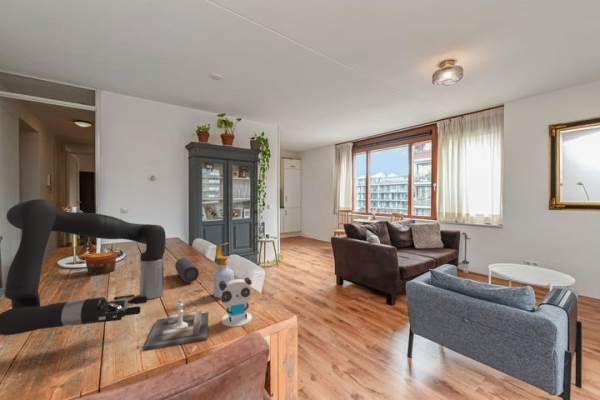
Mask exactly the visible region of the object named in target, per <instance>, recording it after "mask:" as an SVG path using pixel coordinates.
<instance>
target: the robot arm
mask: <svg viewBox="0 0 600 400" xmlns="http://www.w3.org/2000/svg"><path fill="white" fill-rule="evenodd" d="M6 220H7V221H8V223H9V224H10V225H12V226H13V227H14V228H16V229H19V230H21V239H20V242H19V244H18V245H19V246H18V249H17V251H16V254H15V255H14V257H13V259H12V261H11V264H10V266H9V268H8V272H7V277H6V282H5V287H4V288H5V289H4V298H5V299H8V300H10V301H11V308H10V309H6V310H4V311H2V312H0V336H13V335H18V334H24V333H29V332H34V331H37V330H43V329H54V328H60V327H73V326H83V325H90V324H98V323H106V322H116V321H121V320H122V319H123V318H126V316H133V315H139V314H140V313H141V306H133V305H139V304H140V305H141V304H146V303H147V302H148V300H152V299H157V298H160V297H162V296H163V295H164V292H165V291H164V289H165V288H164V286H165V285H164V254H165V252H166V230H165V228H164V227H163V226H162V225H160V224H149V223H148V224H144V223H134V222H133V223H131V222H128V221H125V220H123V219H121V218H118V217H114V216H111V215H106V214H102V213H101V214H100V213H94V212H72V211H71V212H70V211H64V210H63V211H62V210H58V209H57V208H56V206H55V205H54V204H53V203H52V202H50V201H49V200H47V199H42V198H41V199H40V198H39V199H38V198H36V199H31V200H27V201H23V202H22V201H21V202H19V203H16V204H14V205H13V206H11V208H9V210H8V211H7V212H6ZM52 232H60V233H66V234H70V235H76V236H81V237H88V238H95V239H100V240H101V239H102V240H103V239H104V240H128V241H133V242H136V243H139V244H144V245H145V246H146V247H145V248H146V249H145V251H144V252H141V254H140V256H139V257H140V262H139V263H140V275H139V296H135V294H129V295H127V294H126V295H120V296H119V295H118V296H114V297H113V299H112V300H111V301H107V300H106V298H105V297H103V296H101V297H100V296H99V297H92V298H91V297H90V298H84V299H82V298H81V299H75V300H72V301H63V302H54V303H50V304H49V303H48V304H45V305H41V300H40V293H39V288H40V280H41V274H42V269H43V267H42V266H43V261H44V259H45V258H44V257H45V252H46V248H47V245H48V242H49V239H50V235H51V233H52ZM129 306H130V307H129Z"/></svg>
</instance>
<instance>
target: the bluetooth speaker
mask: <svg viewBox="0 0 600 400" xmlns="http://www.w3.org/2000/svg"><path fill="white" fill-rule="evenodd" d="M174 267H175V271H176V272H177V275H178V276H179V277H180V278H181V279H182V280H183V281H184V282H186V283H193V282H195V281H196V280H197V279H198V277H199V275H200V273H199V272H200V271H199V268H198V267H197V266H196V264H195V263H194V262H192V261H191V260H190V259H189V258H186V257H180V258H178V260H177V261H176V262H175V264H174Z"/></svg>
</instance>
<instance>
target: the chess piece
mask: <svg viewBox="0 0 600 400" xmlns="http://www.w3.org/2000/svg"><path fill="white" fill-rule="evenodd" d="M183 302H184V301H183V300H182V298H179V299H178V300H177V305H176V306H177V311H176V313H177V314H179V315H178V322H177V323H176V324H175V325H174V326H173V328H172V329H177V328H184V327H188V324H187V323H186V322H183V319H182V314H183V313H184V310H183V307H184V303H183Z"/></svg>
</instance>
